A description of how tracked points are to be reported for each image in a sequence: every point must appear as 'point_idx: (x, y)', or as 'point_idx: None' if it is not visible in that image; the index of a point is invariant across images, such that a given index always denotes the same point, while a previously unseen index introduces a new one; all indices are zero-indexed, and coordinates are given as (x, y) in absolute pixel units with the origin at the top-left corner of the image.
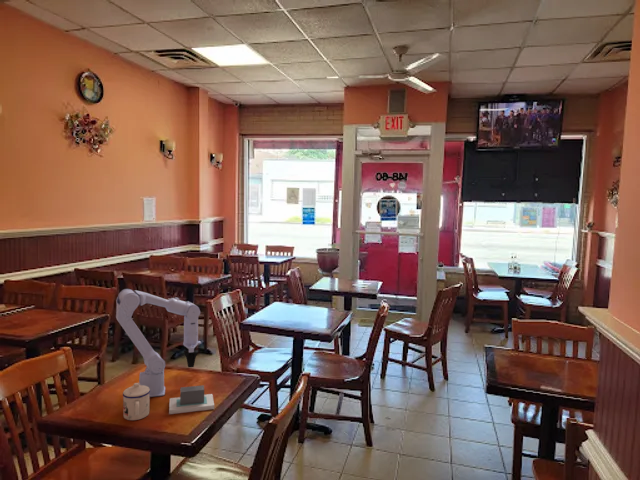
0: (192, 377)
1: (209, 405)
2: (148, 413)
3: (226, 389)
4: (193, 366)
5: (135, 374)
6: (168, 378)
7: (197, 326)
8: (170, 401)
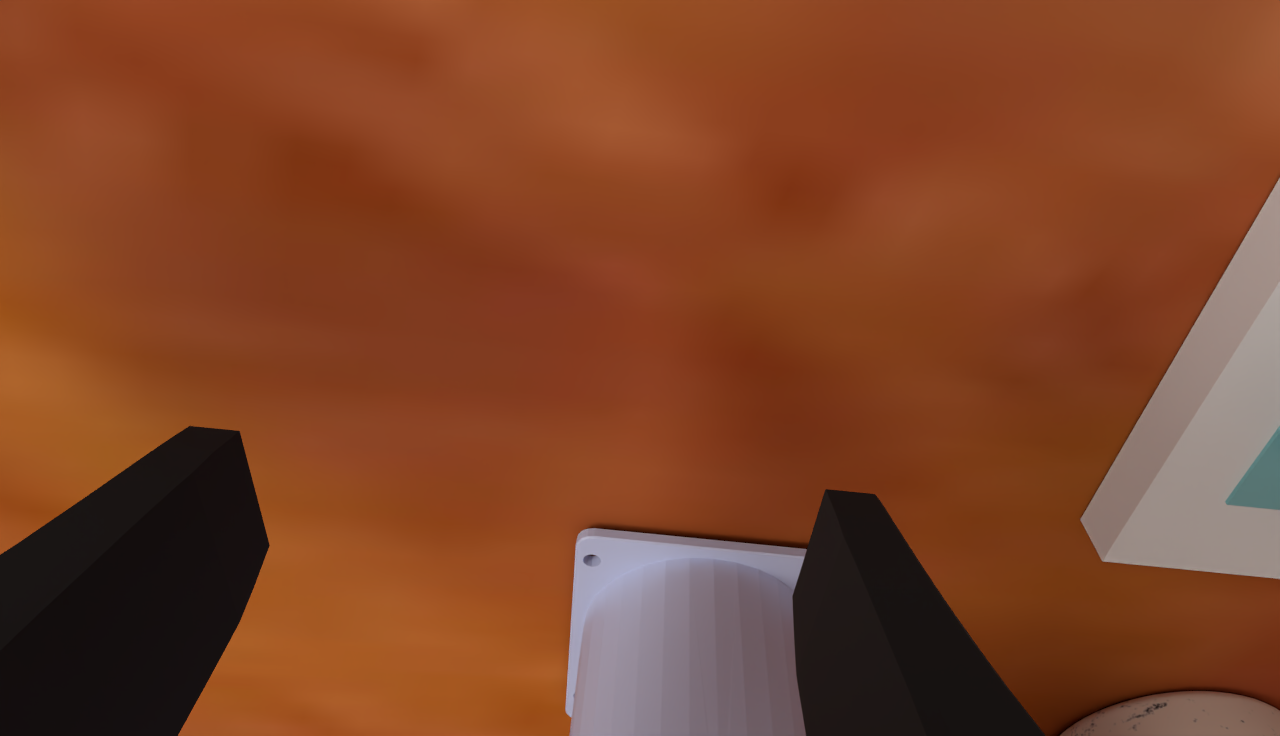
0: (207, 114)
1: None
2: (1268, 710)
3: None
4: (882, 506)
5: None
6: None
7: None
8: (1217, 564)
